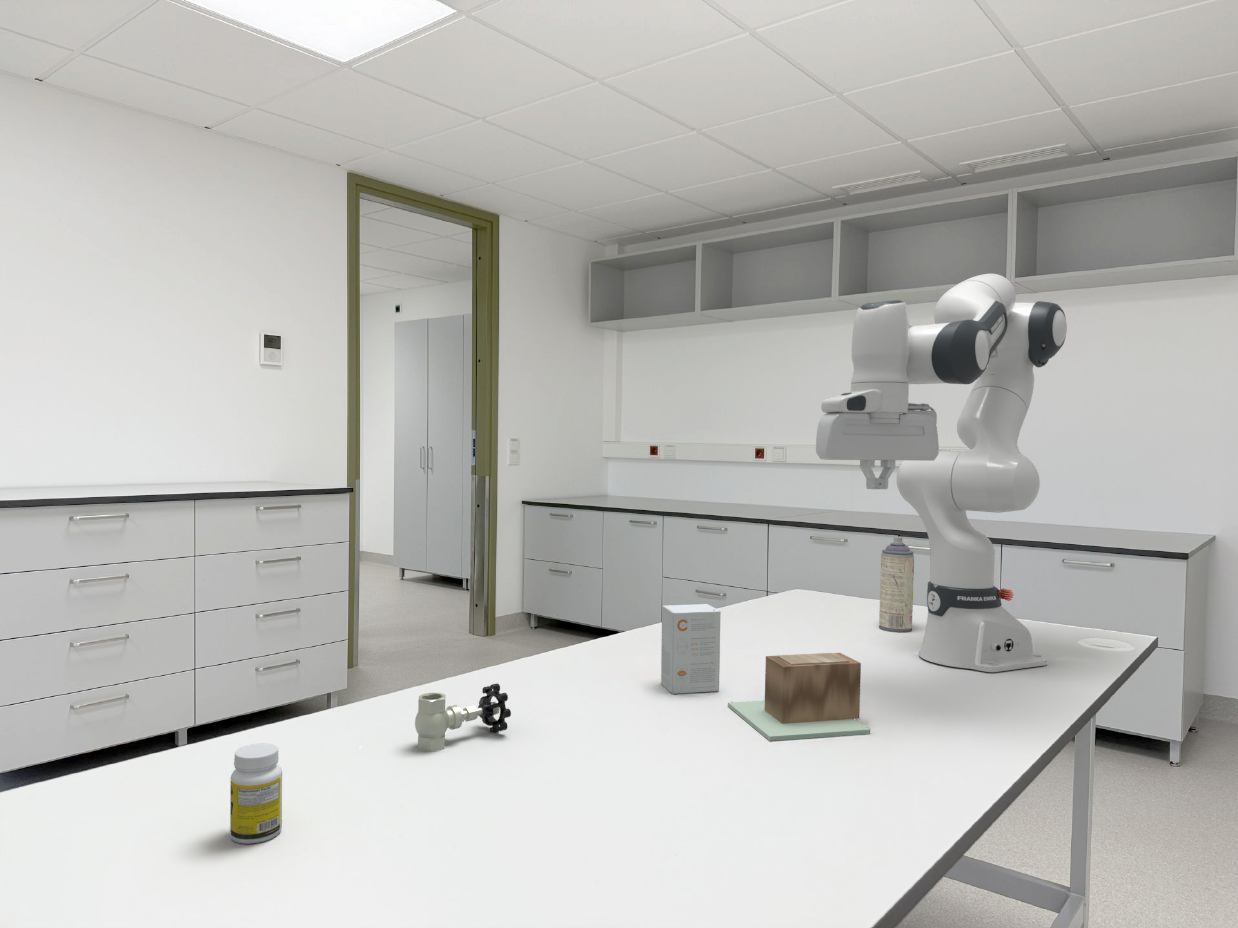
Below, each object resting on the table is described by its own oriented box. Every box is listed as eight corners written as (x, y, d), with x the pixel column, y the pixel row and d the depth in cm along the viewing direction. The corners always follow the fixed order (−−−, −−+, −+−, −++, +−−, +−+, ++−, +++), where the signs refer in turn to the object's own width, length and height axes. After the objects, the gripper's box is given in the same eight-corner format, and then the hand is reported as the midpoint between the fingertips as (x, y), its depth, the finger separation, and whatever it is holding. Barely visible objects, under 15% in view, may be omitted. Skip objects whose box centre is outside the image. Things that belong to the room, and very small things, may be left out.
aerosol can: (918, 631, 182) (921, 539, 182) (889, 632, 181) (892, 539, 180) (900, 625, 189) (903, 535, 188) (873, 625, 187) (875, 535, 187)
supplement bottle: (240, 823, 86) (241, 741, 86) (288, 822, 87) (288, 740, 86) (222, 845, 81) (223, 759, 81) (272, 844, 82) (273, 758, 82)
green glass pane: (818, 700, 131) (818, 696, 131) (870, 733, 117) (870, 729, 117) (727, 706, 128) (728, 702, 128) (769, 740, 113) (769, 736, 113)
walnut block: (840, 651, 127) (765, 654, 124) (860, 661, 121) (783, 665, 118) (838, 705, 127) (764, 710, 124) (859, 718, 122) (782, 723, 119)
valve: (428, 758, 105) (510, 738, 113) (429, 705, 105) (511, 688, 112) (404, 743, 110) (484, 725, 118) (405, 693, 110) (485, 677, 118)
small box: (706, 680, 141) (707, 603, 141) (719, 692, 135) (721, 610, 135) (659, 683, 139) (661, 604, 139) (671, 694, 133) (673, 612, 133)
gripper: (924, 404, 141) (922, 487, 141) (812, 401, 136) (810, 487, 136) (948, 403, 135) (946, 490, 135) (831, 400, 129) (829, 490, 130)
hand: (877, 489), depth 135 cm, fingers closed
